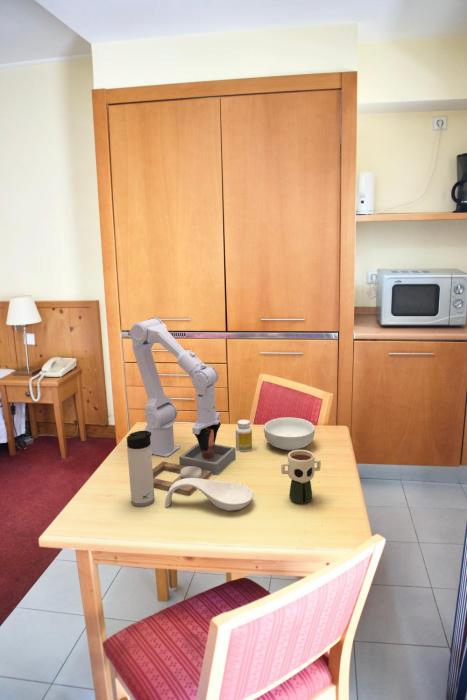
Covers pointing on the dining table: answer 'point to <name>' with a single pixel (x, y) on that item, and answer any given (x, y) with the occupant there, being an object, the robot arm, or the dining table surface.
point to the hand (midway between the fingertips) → (207, 447)
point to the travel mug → (140, 468)
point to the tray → (215, 464)
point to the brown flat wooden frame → (185, 473)
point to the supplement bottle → (243, 436)
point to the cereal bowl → (289, 433)
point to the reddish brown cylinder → (209, 445)
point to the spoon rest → (216, 492)
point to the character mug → (300, 474)
